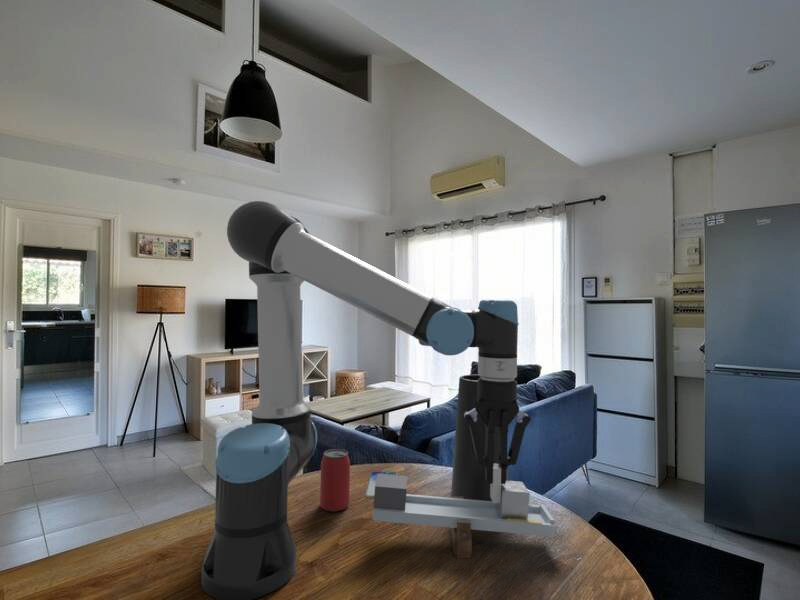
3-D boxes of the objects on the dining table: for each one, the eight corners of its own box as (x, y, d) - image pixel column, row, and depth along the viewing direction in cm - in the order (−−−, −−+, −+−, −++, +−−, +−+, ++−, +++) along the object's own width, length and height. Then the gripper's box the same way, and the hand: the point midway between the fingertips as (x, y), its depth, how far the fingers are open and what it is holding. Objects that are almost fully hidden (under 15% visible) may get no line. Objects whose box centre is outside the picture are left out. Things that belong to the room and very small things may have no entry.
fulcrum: (455, 559, 74) (455, 524, 74) (449, 525, 86) (449, 494, 86) (473, 560, 74) (473, 524, 74) (464, 526, 86) (464, 495, 86)
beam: (372, 520, 77) (374, 488, 77) (375, 501, 85) (377, 471, 85) (555, 536, 76) (557, 503, 76) (541, 515, 84) (543, 485, 84)
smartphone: (364, 496, 98) (370, 471, 113) (364, 499, 98) (370, 474, 113) (394, 496, 98) (397, 471, 113) (394, 500, 98) (397, 474, 113)
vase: (499, 518, 90) (501, 385, 90) (442, 502, 96) (444, 378, 97) (515, 494, 101) (516, 376, 102) (463, 481, 108) (465, 371, 109)
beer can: (343, 514, 90) (344, 459, 90) (315, 511, 91) (316, 456, 91) (352, 500, 96) (354, 449, 97) (326, 497, 98) (327, 447, 98)
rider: (500, 522, 78) (503, 490, 78) (495, 509, 83) (497, 479, 83) (527, 524, 77) (529, 492, 78) (520, 511, 82) (522, 481, 83)
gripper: (466, 380, 77) (464, 507, 77) (536, 382, 77) (534, 510, 76) (461, 374, 85) (459, 490, 84) (525, 376, 84) (523, 492, 84)
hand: (495, 499), depth 80 cm, fingers closed
